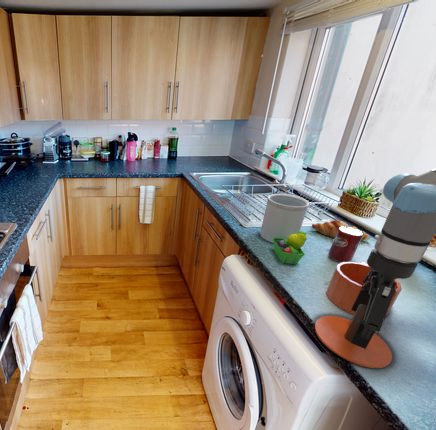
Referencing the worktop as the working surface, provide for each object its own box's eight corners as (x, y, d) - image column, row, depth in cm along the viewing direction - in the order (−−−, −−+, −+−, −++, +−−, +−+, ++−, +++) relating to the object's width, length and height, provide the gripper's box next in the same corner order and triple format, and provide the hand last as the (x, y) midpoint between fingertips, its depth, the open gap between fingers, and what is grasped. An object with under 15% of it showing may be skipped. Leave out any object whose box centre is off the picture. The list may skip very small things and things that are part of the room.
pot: (384, 294, 90) (397, 269, 86) (389, 334, 76) (405, 306, 72) (328, 276, 98) (338, 253, 94) (324, 309, 84) (335, 283, 80)
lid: (387, 338, 74) (407, 305, 70) (393, 383, 63) (416, 347, 58) (316, 310, 83) (329, 279, 78) (310, 346, 72) (325, 312, 67)
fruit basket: (269, 248, 114) (276, 223, 110) (293, 250, 113) (301, 225, 108) (278, 264, 104) (287, 237, 99) (305, 267, 103) (315, 240, 98)
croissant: (363, 245, 125) (367, 227, 125) (374, 245, 115) (378, 226, 115) (307, 233, 132) (311, 216, 133) (313, 232, 123) (317, 214, 123)
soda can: (332, 262, 106) (344, 234, 101) (324, 252, 112) (334, 225, 107) (354, 265, 104) (367, 236, 99) (345, 255, 111) (357, 227, 106)
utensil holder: (252, 236, 123) (261, 198, 116) (266, 226, 132) (276, 190, 125) (289, 250, 113) (302, 210, 106) (301, 238, 122) (314, 200, 115)
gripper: (370, 228, 73) (341, 294, 82) (375, 275, 55) (337, 352, 64) (410, 238, 69) (375, 306, 78) (429, 291, 51) (380, 371, 60)
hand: (357, 327), depth 71 cm, fingers open, 13 cm apart
